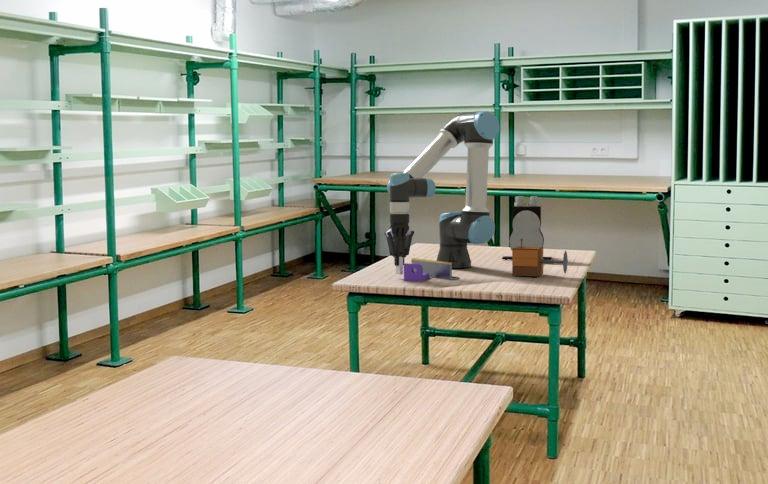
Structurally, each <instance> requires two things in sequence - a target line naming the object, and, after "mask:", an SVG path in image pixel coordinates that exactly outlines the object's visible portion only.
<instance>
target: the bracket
mask: <svg viewBox="0 0 768 484" xmlns="http://www.w3.org/2000/svg"><path fill="white" fill-rule="evenodd" d="M414 268H416V270H417V271H416V272H414V271H413V269H414ZM428 279H431V277H429V274H428V273H423V267H422V265H421V264H412V263H405V262H404V265H403V281H404V282H420V283H421V282H423V281H426V280H428Z"/></svg>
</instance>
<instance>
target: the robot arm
mask: <svg viewBox="0 0 768 484" xmlns="http://www.w3.org/2000/svg"><path fill="white" fill-rule="evenodd" d="M499 132H500V123H499V120H498V118H497V117H496V116H495V114H494V113H493V112H491V111H488V110H477V111H471V112H462V113H459V114H456V115H455V116H454V117H453V118H451V119H450V120H449V121H448V122H446V124H444V125H443V126H442V127H441V129H439V130H438V135H437V136H436V137H435V138H434V139H433V140H432V141H431V143H430V144H428V145H427V147H426V148H425V149H424V150H423V151H422V152H421V153H420V154H419V155H418V156H417V157H416V158H415V159H414V161H412V162H411V164H409V165H408V166H407V167H406V169H405V170H404V171H403V172H393V173H391V174H390V176H389V180H388V183H387V185H386V190H387V193H388V194H389V213H390V214H389V223H390V226H389V229H388V230H387V231H384V235H385V237H386V240H387V248H388V253H389V255H390V256H391V257H393V258H394V262H393V263H394V266H395V275H404V264H405V258H407V256H409V255H410V250H411V246H412V245H411V244H412V239H413V236H414V234H415V230H412V229H410V226H409V223H410V214H409V213H410V198H411V199H412V198H417V199H418V198H421V199H422V198H424V199H427V198H432V197H433V196H434V195H435V193H436V183H435V181H434V180H433V179H431V178H429V177H428V178H427V177H426V175H427V174H429V172H430V171H431V170H432V169H433V168H434V167H435V166H436V165H437V164H438V163H439V161H440V160H442V158H444V156H445V155H447V153H448V152H449V151H450V150H451V149H455V148H456V147H457V146H459V144H461V143H463V142H464V143H463V144H464V146H466V148H467V159H466V160H467V161H466V162H467V163H466V179H465V180H466V183H465V187H466V188H465V205H464V208H462V210H461V211H451V212H443V213H441V214H440V215H439V222H438V225H439V228H438V229H439V230H438V231H439V250H438V253H437V257H436V259H435V261H443V262H451V263H452V269H462V268H464V269H465V268H470V267H472V259H471V258H470V254H469V253H470V252H469V250H468V244H472V245H483V244H487V243H488V242H489V241H490V240H491V239H492V238H493V236H494V233H495V231H496V225H495V222H494V220H493V218H492V217H490V213H491V211H490V210H489V209H488V208H487V197H488V175H489V155H490V154H489V153H490V152H489V151H490V148H491V147H492V146H493V145H494V140H495V139H496V138H497V136H498V135H499Z"/></svg>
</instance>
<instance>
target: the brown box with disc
mask: <svg viewBox="0 0 768 484" xmlns="http://www.w3.org/2000/svg"><path fill="white" fill-rule="evenodd" d="M520 241H521V246H518V247H515V248H512V250H511V252H512V260H511V262H512V263H511V264H512V267H511V268H512V270H511V271H512V272H511V273H512V274H511V275H512V276H518V277H520V276H521V277H522V276H523V277H539V276H541V275H542V274H544V265H546V264H548V265H549V264H550V265H553V264H562V265H563V266H562V268H563V273H564V274H566V273H567V271H568V261H569V260H568V252H567V250H566V249H565V250H564V253H563V258H562V259H563V260H561V259H560V260H558V259H557V260H554V259H552V260H548V259H543V257H544V246H543V247H535V246H522V241H523V239H520Z"/></svg>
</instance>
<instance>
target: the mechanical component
mask: <svg viewBox="0 0 768 484" xmlns="http://www.w3.org/2000/svg"><path fill="white" fill-rule="evenodd" d="M515 198H516V199H515V200H516V202H514V203H513V204H514V205H513V206H512V229H513V230H512V233H511V235H510V237H509V247H510V250H511V251H512V248H515V247H518V246H521V241H520V239H523V241H522V246H535V247H543V248H544V245H545V244H544V243H545V237H544V234H543V232H542V231H541V227H542V206H541V204H540V203H541V202H539V201H538V200H539V199H538V196H537V195H535V196H534V195H533V196H530V201H529V202H528V203H527V202H525V201H524V199H525V196H523V195H522V196H521V195H518V196H516V197H515ZM526 204H527V205H528V206H527V205H526ZM502 259H512V256H508V255H507V256H504V255H503V256H502V257H501V260H502ZM543 259H548V260H551V259H552V260H553V257H552V256H543Z"/></svg>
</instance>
